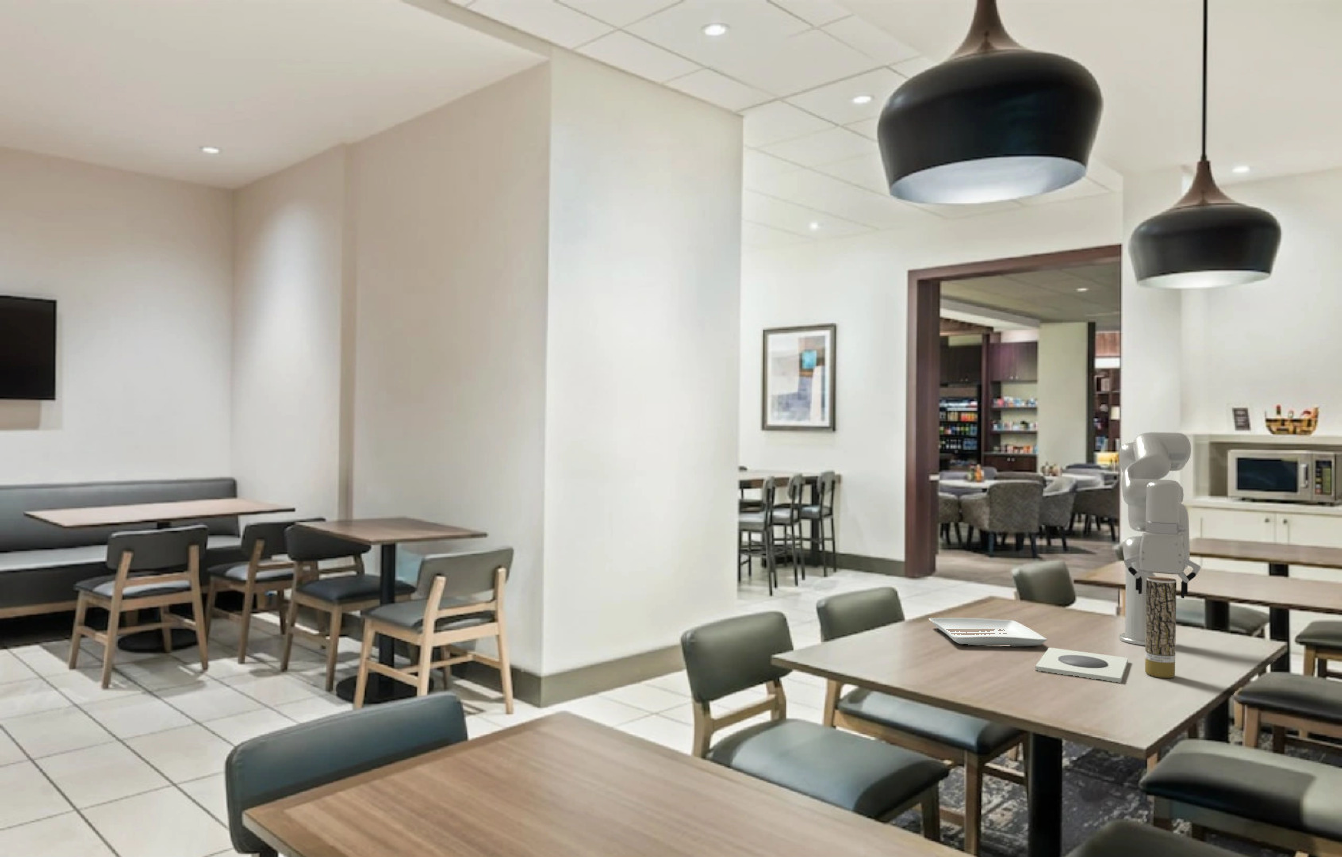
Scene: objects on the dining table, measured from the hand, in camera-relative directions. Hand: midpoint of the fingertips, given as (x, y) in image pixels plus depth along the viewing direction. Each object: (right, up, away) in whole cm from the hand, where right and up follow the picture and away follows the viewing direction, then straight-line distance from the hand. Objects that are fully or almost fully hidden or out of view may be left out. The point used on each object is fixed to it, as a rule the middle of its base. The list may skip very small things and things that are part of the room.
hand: (1161, 595), depth 228 cm
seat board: (-17, -21, +8) cm, 28 cm away
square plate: (-32, -21, +39) cm, 54 cm away
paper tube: (0, -21, 0) cm, 21 cm away
